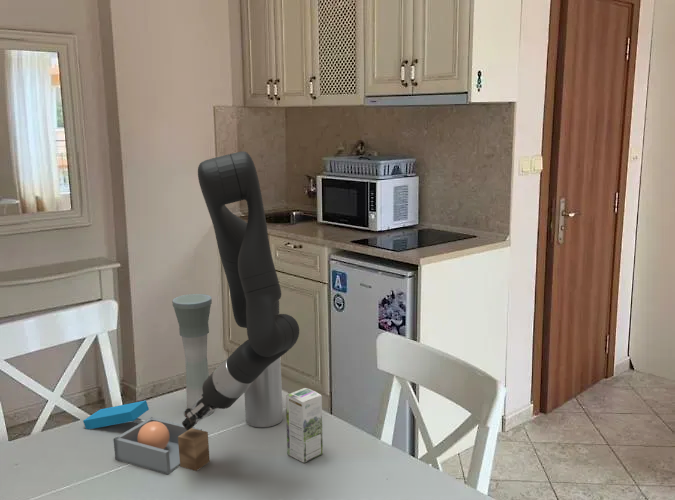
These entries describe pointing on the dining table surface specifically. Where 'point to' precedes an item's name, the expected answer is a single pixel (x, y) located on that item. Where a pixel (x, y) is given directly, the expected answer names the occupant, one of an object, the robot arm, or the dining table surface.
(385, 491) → the dining table surface
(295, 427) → the syrup box
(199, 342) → the container
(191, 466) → the wooden block
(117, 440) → the tray
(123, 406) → the lever
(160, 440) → the ball
